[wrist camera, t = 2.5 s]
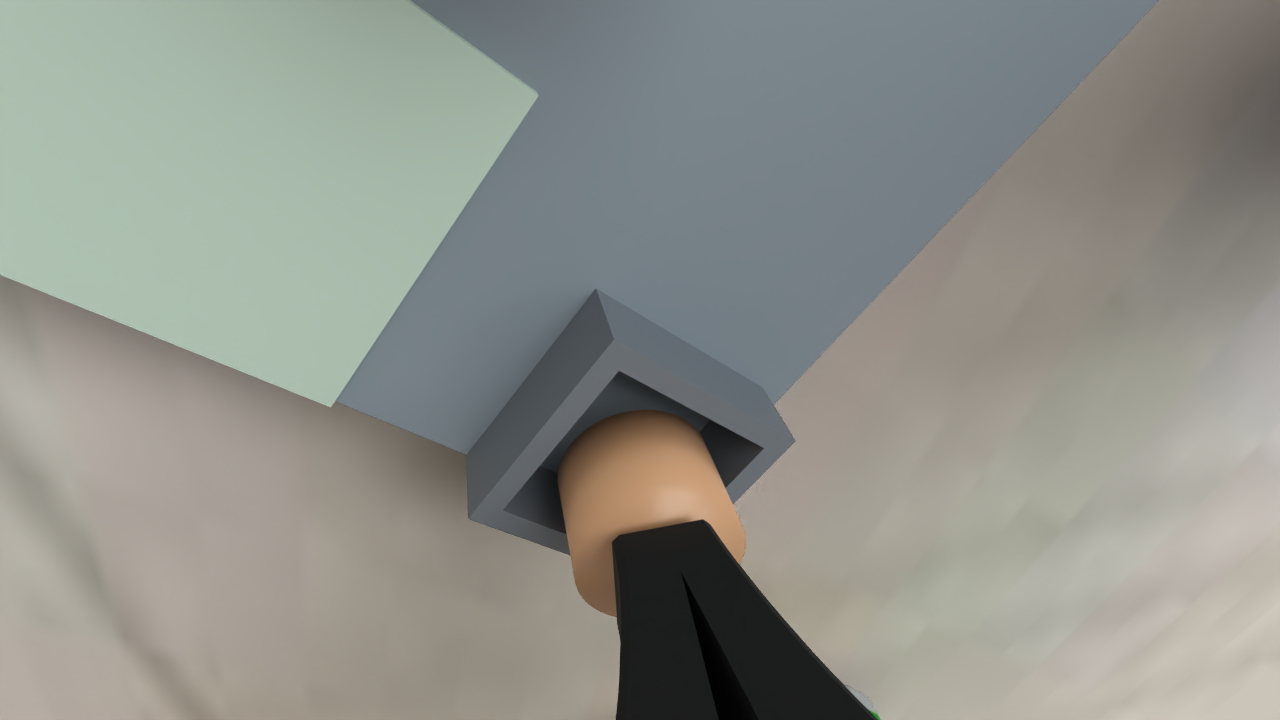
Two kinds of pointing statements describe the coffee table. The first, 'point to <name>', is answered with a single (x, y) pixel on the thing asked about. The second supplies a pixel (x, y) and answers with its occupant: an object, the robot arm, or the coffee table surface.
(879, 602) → the coffee table surface
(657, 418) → the plunger
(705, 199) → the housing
